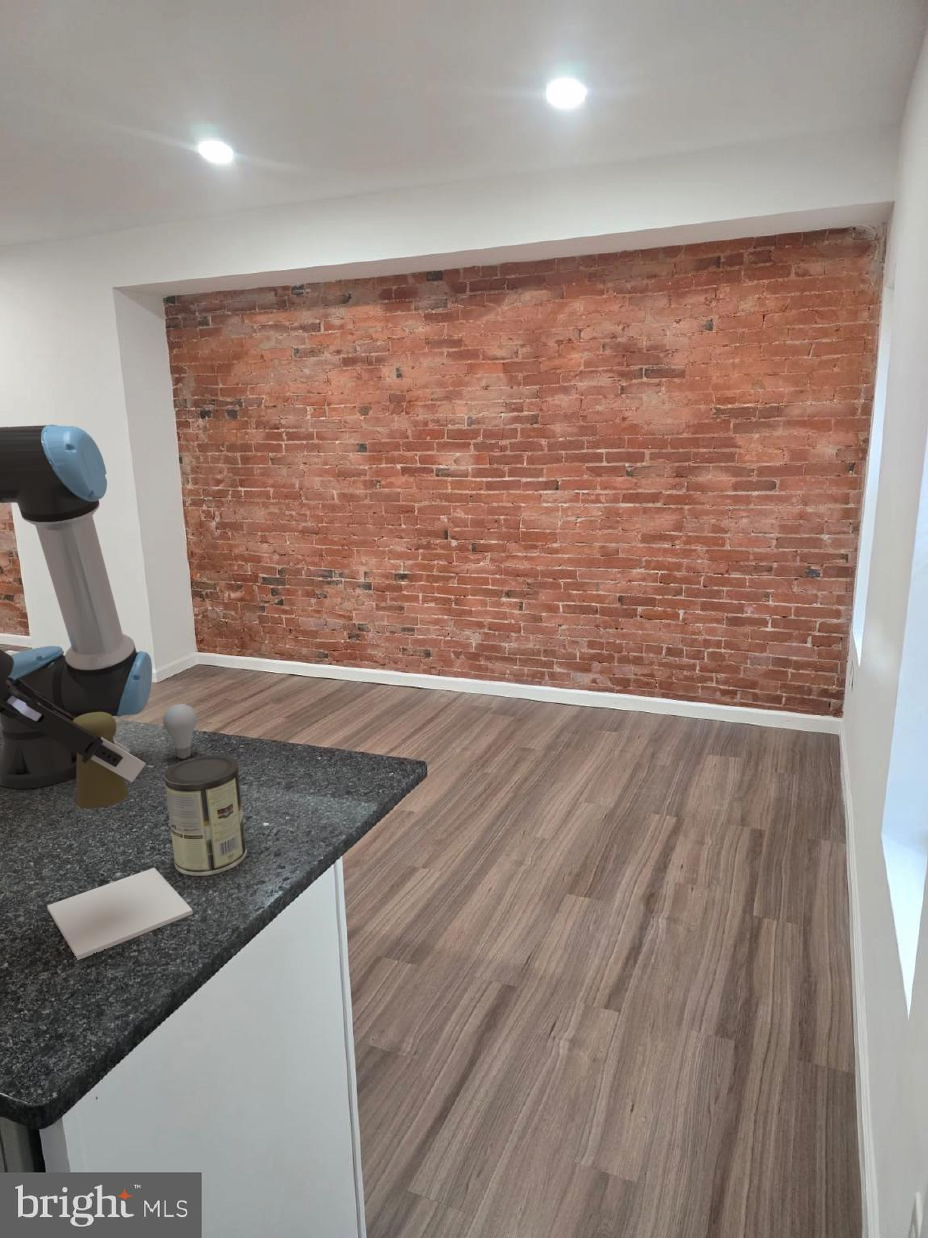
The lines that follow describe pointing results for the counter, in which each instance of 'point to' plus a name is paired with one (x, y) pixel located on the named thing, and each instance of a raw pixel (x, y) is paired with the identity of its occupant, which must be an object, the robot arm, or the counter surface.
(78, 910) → the white pad
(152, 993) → the counter surface
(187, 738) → the lightbulb
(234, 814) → the coffee can
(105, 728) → the cork
